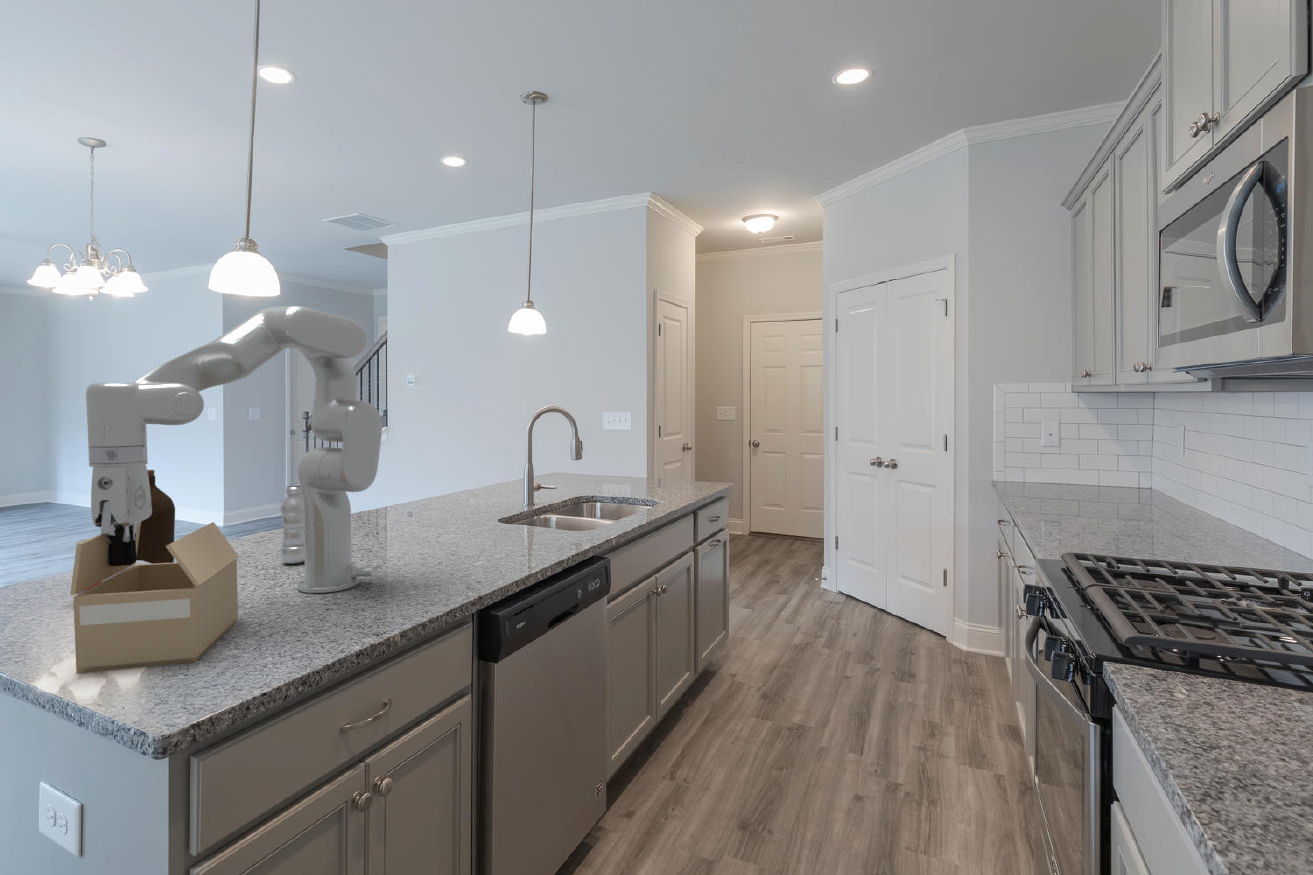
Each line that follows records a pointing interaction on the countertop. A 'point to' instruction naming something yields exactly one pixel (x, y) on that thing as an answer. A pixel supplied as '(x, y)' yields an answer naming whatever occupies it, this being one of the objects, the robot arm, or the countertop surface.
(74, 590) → the flap
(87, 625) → the carton
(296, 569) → the countertop surface
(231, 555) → the flap
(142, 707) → the countertop surface
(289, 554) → the plastic bottle
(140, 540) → the olive oil
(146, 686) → the countertop surface
